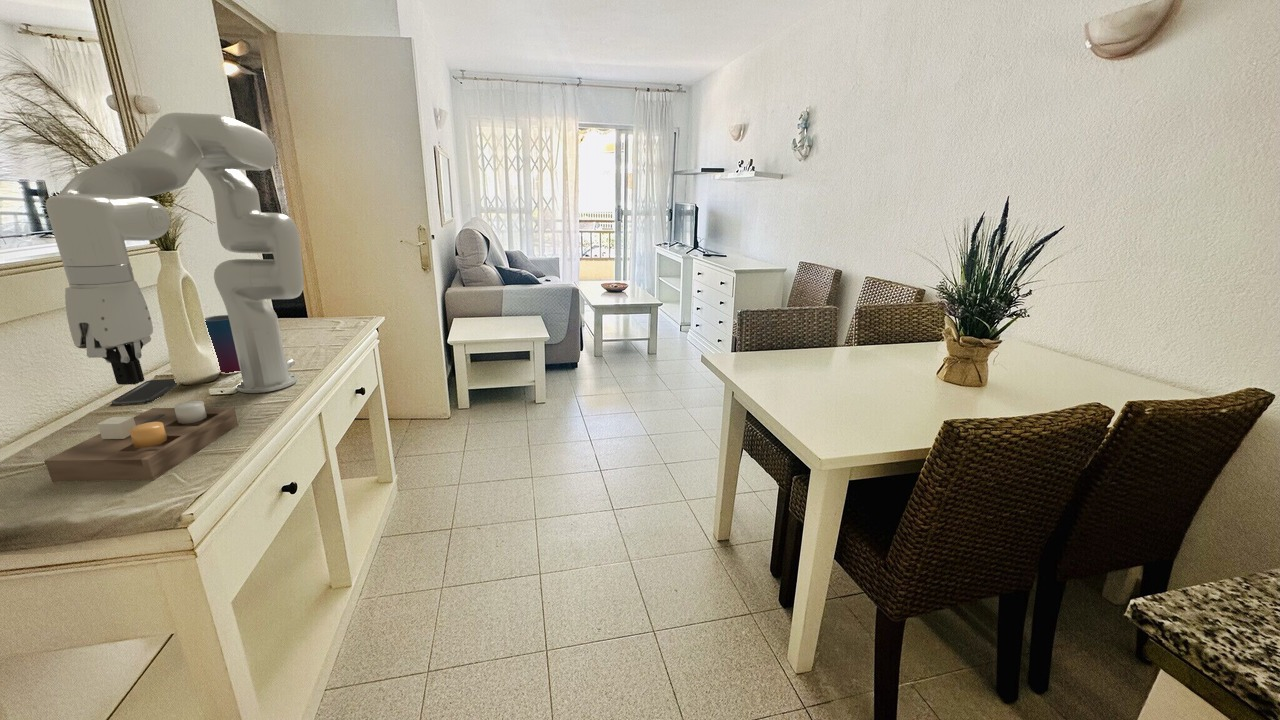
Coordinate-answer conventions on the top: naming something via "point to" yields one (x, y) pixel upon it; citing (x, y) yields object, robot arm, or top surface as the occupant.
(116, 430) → the slider knob
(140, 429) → the orange button
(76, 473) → the control panel
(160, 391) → the phone
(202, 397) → the top surface
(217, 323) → the cup
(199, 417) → the grey button
